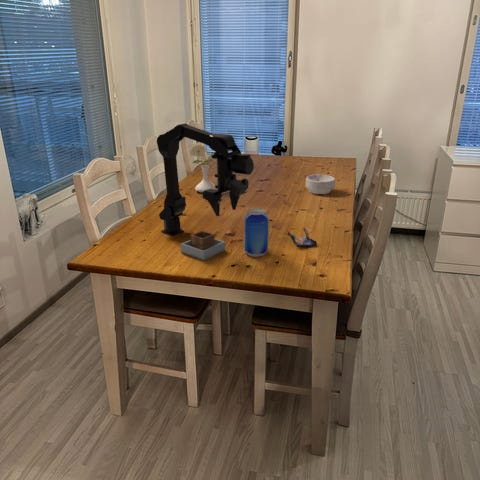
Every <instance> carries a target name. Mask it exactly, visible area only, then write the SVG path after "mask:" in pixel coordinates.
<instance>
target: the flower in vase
mask: <svg viewBox="0 0 480 480" xmlns="http://www.w3.org/2000/svg"><path fill="white" fill-rule="evenodd" d="M206 152H207V151H206V146H204V145H202V144H195V145H193V146H192V147H191V150H190V153H191V155H192V156H193V157H196V158H197V157H198V158H199V159H194V160H193V161H192V164H196V165H197V164H200V163H201V165H199V166H200V169H201V171H202V177H203V178H202V180H201V182H199V183H198V184H197V185H196V186H195V188H194V189H195V191H197V192H199V193H203V192H204V191H205V190H208V189H214V190H217V188H215V185H216V184H214V183H213V182H212V181H210V180H209V178H208V170H209V168H210V165H208V163H209V161H210V158H208V159H206V160H204V161H203V162H202V161H201V158H200V157H203V156H204V155H205V154H206Z"/></svg>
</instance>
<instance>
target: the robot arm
mask: <svg viewBox="0 0 480 480" xmlns="http://www.w3.org/2000/svg"><path fill="white" fill-rule="evenodd" d="M184 139H190V140H192V141H195V142H198V143H201V144H203V145H206V146H208V147H209V149H210V150H212V151H214V153H213V154H212V155H211V157H210V158H211V159H214V160H215V159H216V173H215V174H214V178H216V179H217V180H216V181H217V182H216V183H217V184H214V185H215V188H216V190H214V189H208V190H205V191H204V192H202V199H203V200H205V201H207V202H208V203H209V205H210V206H211V208H212V210H213V212H214V214H215V216H216V217H219V216H220V211H221V210H220V209H221V207H220V206H221V205H220V203H221V202H222V201H223V199H222V196H223V194H226V193H227V194H228V195H229V201H230V205H231V209H232V210H233V211H235V210H236V209H237V206H238V203H239V199H240V197H241V196H242V195H244V194H245V193H246V191H248V189H249V188H250V187H249V179H247V178H242V179H237V175H236V174H240V175H241V174H242V175H247V176H248V175H251V174H252V173H253V170H254V165H255V163H254V160H253V159H252V158H251V154H249V153H248V154H247V153H246V154H243V153H242V151H241V150H240V149H239V146H238V145H237V143H236V141H235V137H233V136H232V135H231V134H225V133H213V132H210V131H207V130H204V129H200V128H197V127H195V126H192V125H189V124H188V123H179V124H177V125H176V126H174V127H173V128H171V129H170V130H168V131H166V132H165V133H163V134H159V135H158V137H157V138H156V146H157V150H158V152H159V154H160V155H161V156H162V159H163V168H164V169H163V170H164V178H165V187H166V188H165V189H166V196H165V198H164V201H163V209H162V210H161V211H160V213H159V214H158V217H159V219H160V220H161V221H162V220H163V229H162V230H161V232H162V233H164V234H166V235H170V236H174V235H176V234H179V233H182V232H184V229H182V228H181V221H180V219H181V218H180V217H182V216H183V214H184V212H185V211H186V207H187V203H186V197H185V196H183V195H182V194H181V193H180V192H181V191H180V182H179V173H178V163H177V155H178V154H179V153H178V152H179V150H180V142H181V141H182V140H184Z"/></svg>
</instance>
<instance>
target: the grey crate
mask: <svg viewBox="0 0 480 480" xmlns="http://www.w3.org/2000/svg"><path fill="white" fill-rule="evenodd" d="M225 251H226V241H224V240H220V239H217V238H215V246H212V247H210V248H208V249H206V250H204V251H203V250H200V249H197V248H194V247H191V239H189V240H187V241H184V242H181V243H180V253H181V254H184V255H186V256H189V257H192V258H193V259H194V258H195V259H197V260H201V261H203V262H205V261H206V260H209V259H211V258H214V257H215V256H217V255H219V254H221V253H223V252H225Z"/></svg>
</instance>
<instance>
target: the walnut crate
mask: <svg viewBox="0 0 480 480" xmlns="http://www.w3.org/2000/svg"><path fill="white" fill-rule="evenodd" d="M215 239H216V238H215V234H214V233H211V232H208V231H205V230H200V231H197V232H196V233H193V234H190V240H191V247H194V248H197V249H200V250H203V251H204V250H206V249H208V248H210V247H212V246H215Z"/></svg>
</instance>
